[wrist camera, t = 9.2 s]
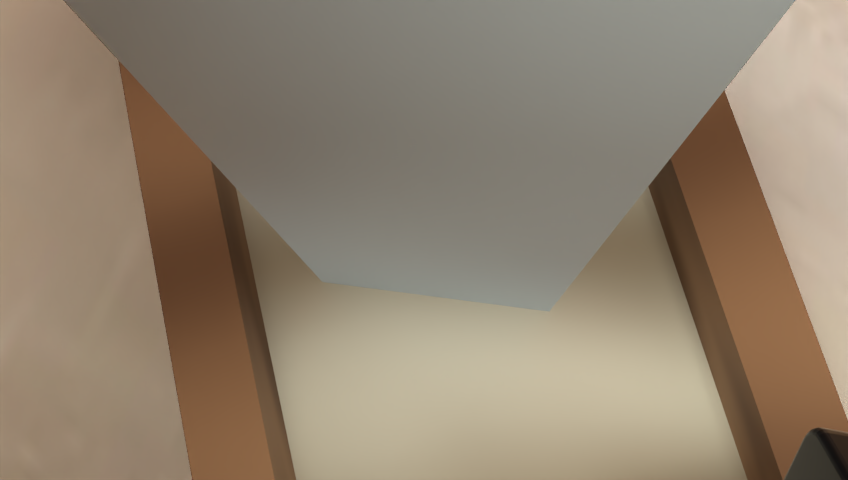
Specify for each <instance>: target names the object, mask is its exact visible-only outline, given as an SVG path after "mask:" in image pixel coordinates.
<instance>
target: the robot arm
mask: <svg viewBox="0 0 848 480" xmlns="http://www.w3.org/2000/svg"><path fill="white" fill-rule="evenodd" d="M784 480H848V432H844V431H839V430H833V429H828V428H822V427H818V428H814V429H812V430H810V431H809V432H808V433H807V434H806V436H805V438H804V439H803V441H802V443H801V445H800V447H799V449H798V451H797V454H796V456H795V458H794V460H793V462H792V464H791V466H790V468H789V470H788V472H787V474H786V476H785V478H784Z"/></svg>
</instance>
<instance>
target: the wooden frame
mask: <svg viewBox="0 0 848 480" xmlns="http://www.w3.org/2000/svg"><path fill="white" fill-rule="evenodd" d="M118 61H119V60H118ZM119 66H120V72H121V78H122V83H123V89H124V95H125V100H126V106H127V112H128V117H129V123H130V129H131V134H132V140H133V146H134V151H135V157H136V163H137V168H138V174H139V180H140V185H141V191H142V197H143V202H144V208H145V214H146V219H147V225H148V231H149V237H150V242H151V248H152V254H153V259H154V265H155V271H156V276H157V282H158V288H159V293H160V299H161V305H162V310H163V316H164V322H165V327H166V333H167V339H168V344H169V350H170V356H171V361H172V367H173V373H174V378H175V384H176V390H177V395H178V401H179V407H180V412H181V418H182V424H183V429H184V435H185V441H186V446H187V452H188V458H189V463H190V469H191V475H192V480H784V478H785V476H786V474H787V472H788V470H789V468H790V466H791V464H792V462H793V460H794V458H795V456H796V454H797V451H798V449H799V447H800V445H801V443H802V441H803V439H804V438H805V436H806V434H807V433H808V432H809V431H810V430H812V429H814V428H818V427H822V428H828V429H833V430H839V431H844V432H848V420H847V417H846V415H845V412H844V409H843V407H842V404H841V401H840V399H839V396H838V393H837V391H836V388H835V385H834V383H833V380H832V377H831V375H830V372H829V369H828V367H827V364H826V361H825V358H824V356H823V353H822V350H821V348H820V345H819V342H818V340H817V337H816V334H815V332H814V329H813V326H812V324H811V321H810V318H809V316H808V313H807V310H806V308H805V305H804V302H803V300H802V297H801V294H800V292H799V289H798V286H797V284H796V281H795V278H794V276H793V273H792V270H791V268H790V265H789V262H788V260H787V257H786V254H785V252H784V249H783V246H782V243H781V241H780V238H779V235H778V233H777V230H776V227H775V225H774V222H773V219H772V217H771V214H770V211H769V209H768V206H767V203H766V201H765V198H764V195H763V193H762V190H761V187H760V185H759V182H758V179H757V177H756V174H755V171H754V169H753V166H752V163H751V161H750V158H749V155H748V153H747V150H746V147H745V145H744V142H743V139H742V137H741V134H740V131H739V128H738V126H737V123H736V120H735V118H734V115H733V112H732V110H731V107H730V104H729V102H728V99H727V96H726V94H725V91H723V92H722V94H721V95H720V96H719V97H718V99H717V100H716V101H715V103H714V104H713V105H712V106H711V108H710V109H709V110H708V111H707V113H706V114H705V115H704V116H703V118H702V119H701V120H700V122H699V123H698V124H697V125H696V127H695V128H694V129H693V130H692V132H691V133H690V134H689V135H688V137H687V138H686V139H685V140H684V142H683V143H682V144H681V146H680V147H679V148H678V149H677V151H676V152H675V153H674V154H673V156H672V157H671V158H670V159H669V161H668V162H667V163H666V165H665V166H664V167H663V168H662V170H661V171H660V172H659V173H658V175H657V176H656V177H655V178H654V180H653V181H652V182H651V183H650V185H649V186H648V187H647V189H646V190H645V191H644V192H643V194H642V195H641V196H640V197H639V199H638V200H637V201H636V202H635V204H634V205H633V206H632V208H631V209H630V210H629V211H628V213H627V214H626V215H625V216H624V218H623V219H622V220H621V221H620V223H619V224H618V225H617V226H616V228H615V229H614V230H613V232H612V233H611V234H610V235H609V237H608V238H607V239H606V240H605V242H604V243H603V244H602V245H601V247H600V248H599V249H598V251H597V252H596V253H595V254H594V256H593V257H592V258H591V259H590V261H589V262H588V263H587V264H586V266H585V267H584V268H583V269H582V271H581V272H580V273H579V275H578V276H577V277H576V278H575V280H574V281H573V282H572V283H571V285H570V286H569V287H568V288H567V290H566V291H565V292H564V294H563V295H562V296H561V297H560V299H559V300H558V301H557V302H556V304H555V305H554V306H553V307H552V309H551V310H550V311H541V310H534V309H526V308H518V307H510V306H503V305H495V304H487V303H480V302H472V301H464V300H457V299H449V298H441V297H434V296H426V295H418V294H410V293H403V292H395V291H387V290H380V289H372V288H364V287H357V286H349V285H341V284H334V283H326V282H322V281H321V280H320V279H319V278H318V277H317V276H316V274H315V273H314V272H313V271H312V270H311V269H310V268H309V267H308V266H307V265H306V264H305V262H304V261H303V260H302V259H301V258H300V257H299V256H298V255H297V254H296V253H295V252H294V251H293V249H292V248H291V247H290V246H289V245H288V244H287V243H286V242H285V241H284V240H283V239H282V237H281V236H280V235H279V234H278V233H277V232H276V231H275V230H274V229H273V228H272V227H271V226H270V224H269V223H268V222H267V221H266V220H265V219H264V218H263V217H262V216H261V215H260V214H259V212H258V211H257V210H256V209H255V208H254V207H253V206H252V205H251V204H250V203H249V202H248V200H247V199H246V198H245V197H244V196H243V195H242V194H241V193H240V192H239V191H238V190H237V189H236V187H235V186H234V185H233V184H232V183H231V182H230V181H229V180H228V179H227V178H226V177H225V175H224V174H223V173H222V172H221V171H220V170H219V169H218V168H217V167H216V166H215V165H214V164H213V162H212V161H211V160H210V159H209V158H208V157H207V156H206V155H205V154H204V153H203V152H202V150H201V149H200V148H199V147H198V146H197V145H196V144H195V143H194V142H193V141H192V140H191V138H190V137H189V136H188V135H187V134H186V133H185V132H184V131H183V130H182V129H181V128H180V127H179V125H178V124H177V123H176V122H175V121H174V120H173V119H172V118H171V117H170V116H169V115H168V113H167V112H166V111H165V110H164V109H163V108H162V107H161V106H160V105H159V104H158V103H157V102H156V100H155V99H154V98H153V97H152V96H151V95H150V94H149V93H148V92H147V91H146V90H145V88H144V87H143V86H142V85H141V84H140V83H139V82H138V81H137V80H136V79H135V78H134V76H133V75H132V74H131V73H130V72H129V71H128V70H127V69H126V68H125V67H124V66H123V65H122V63H121V62H120V61H119Z"/></svg>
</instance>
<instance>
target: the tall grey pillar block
mask: <svg viewBox="0 0 848 480" xmlns="http://www.w3.org/2000/svg"><path fill="white" fill-rule="evenodd" d="M64 1H65V3H66V4H67V5H68V6H69V7H70V8H71V9H72V10H73V11H74V12H75V13H76V14H77V16H78V17H79V18H80V19H81V20H82V21H83V22H84V23H85V24H86V25H87V26H88V28H89V29H90V30H91V31H92V32H93V33H94V34H95V35H96V36H97V37H98V38H99V39H100V41H101V42H102V43H103V44H104V45H105V46H106V47H107V48H108V49H109V50H110V51H111V53H112V54H113V55H114V56H115V57H116V58H117V59H118V60H119V61H120V62H121V63H122V65H123V66H124V67H125V68H126V69H127V70H128V71H129V72H130V73H131V74H132V75H133V76H134V78H135V79H136V80H137V81H138V82H139V83H140V84H141V85H142V86H143V87H144V88H145V90H146V91H147V92H148V93H149V94H150V95H151V96H152V97H153V98H154V99H155V100H156V102H157V103H158V104H159V105H160V106H161V107H162V108H163V109H164V110H165V111H166V112H167V113H168V115H169V116H170V117H171V118H172V119H173V120H174V121H175V122H176V123H177V124H178V125H179V127H180V128H181V129H182V130H183V131H184V132H185V133H186V134H187V135H188V136H189V137H190V138H191V140H192V141H193V142H194V143H195V144H196V145H197V146H198V147H199V148H200V149H201V150H202V152H203V153H204V154H205V155H206V156H207V157H208V158H209V159H210V160H211V161H212V162H213V164H214V165H215V166H216V167H217V168H218V169H219V170H220V171H221V172H222V173H223V174H224V175H225V177H226V178H227V179H228V180H229V181H230V182H231V183H232V184H233V185H234V186H235V187H236V189H237V190H238V191H239V192H240V193H241V194H242V195H243V196H244V197H245V198H246V199H247V200H248V202H249V203H250V204H251V205H252V206H253V207H254V208H255V209H256V210H257V211H258V212H259V214H260V215H261V216H262V217H263V218H264V219H265V220H266V221H267V222H268V223H269V224H270V226H271V227H272V228H273V229H274V230H275V231H276V232H277V233H278V234H279V235H280V236H281V237H282V239H283V240H284V241H285V242H286V243H287V244H288V245H289V246H290V247H291V248H292V249H293V251H294V252H295V253H296V254H297V255H298V256H299V257H300V258H301V259H302V260H303V261H304V262H305V264H306V265H307V266H308V267H309V268H310V269H311V270H312V271H313V272H314V273H315V274H316V276H317V277H318V278H319V279H320V280H321V281H322V282H326V283H334V284H341V285H349V286H357V287H364V288H372V289H380V290H387V291H395V292H403V293H410V294H418V295H426V296H434V297H441V298H449V299H457V300H464V301H472V302H480V303H487V304H495V305H503V306H510V307H518V308H526V309H534V310H541V311H550V310H551V309H552V307H553V306H554V305H555V304H556V302H557V301H558V300H559V299H560V297H561V296H562V295H563V294H564V292H565V291H566V290H567V288H568V287H569V286H570V285H571V283H572V282H573V281H574V280H575V278H576V277H577V276H578V275H579V273H580V272H581V271H582V269H583V268H584V267H585V266H586V264H587V263H588V262H589V261H590V259H591V258H592V257H593V256H594V254H595V253H596V252H597V251H598V249H599V248H600V247H601V245H602V244H603V243H604V242H605V240H606V239H607V238H608V237H609V235H610V234H611V233H612V232H613V230H614V229H615V228H616V226H617V225H618V224H619V223H620V221H621V220H622V219H623V218H624V216H625V215H626V214H627V213H628V211H629V210H630V209H631V208H632V206H633V205H634V204H635V202H636V201H637V200H638V199H639V197H640V196H641V195H642V194H643V192H644V191H645V190H646V189H647V187H648V186H649V185H650V183H651V182H652V181H653V180H654V178H655V177H656V176H657V175H658V173H659V172H660V171H661V170H662V168H663V167H664V166H665V165H666V163H667V162H668V161H669V159H670V158H671V157H672V156H673V154H674V153H675V152H676V151H677V149H678V148H679V147H680V146H681V144H682V143H683V142H684V140H685V139H686V138H687V137H688V135H689V134H690V133H691V132H692V130H693V129H694V128H695V127H696V125H697V124H698V123H699V122H700V120H701V119H702V118H703V116H704V115H705V114H706V113H707V111H708V110H709V109H710V108H711V106H712V105H713V104H714V103H715V101H716V100H717V99H718V97H719V96H720V95H721V94H722V92H723V91H724V90H725V89H726V87H727V86H728V85H729V84H730V82H731V81H732V80H733V79H734V77H735V76H736V75H737V73H738V72H739V71H740V70H741V68H742V67H743V66H744V65H745V63H746V62H747V61H748V60H749V58H750V57H751V56H752V54H753V53H754V52H755V51H756V49H757V48H758V47H759V46H760V44H761V43H762V42H763V41H764V39H765V38H766V37H767V36H768V34H769V33H770V32H771V30H772V29H773V28H774V27H775V25H776V24H777V23H778V22H779V20H780V19H781V18H782V17H783V15H784V14H785V13H786V11H787V10H788V9H789V8H790V6H791V5H792V4H793V3H794V1H795V0H64Z"/></svg>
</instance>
